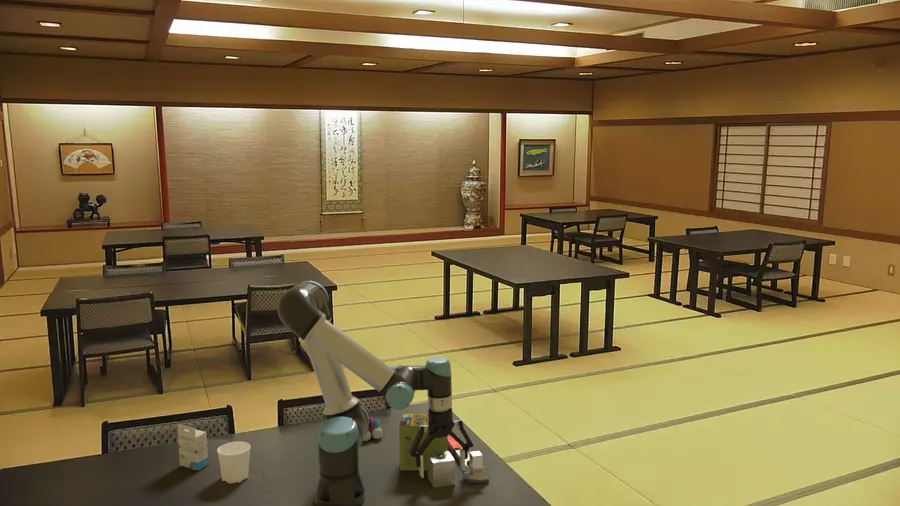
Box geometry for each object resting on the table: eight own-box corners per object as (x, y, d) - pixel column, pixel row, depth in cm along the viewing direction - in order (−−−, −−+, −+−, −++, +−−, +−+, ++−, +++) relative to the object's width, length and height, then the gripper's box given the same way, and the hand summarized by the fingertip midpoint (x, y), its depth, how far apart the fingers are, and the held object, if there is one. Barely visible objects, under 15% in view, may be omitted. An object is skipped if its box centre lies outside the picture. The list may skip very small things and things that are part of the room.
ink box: (209, 465, 228) (206, 423, 225) (197, 471, 223) (195, 428, 221) (191, 460, 231) (188, 418, 229) (179, 466, 227) (176, 423, 225)
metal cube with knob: (433, 487, 212) (433, 461, 210) (427, 477, 218) (427, 452, 217) (455, 484, 214) (454, 458, 212) (448, 474, 220) (448, 449, 219)
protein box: (446, 471, 222) (446, 426, 220) (399, 470, 223) (398, 425, 221) (448, 457, 233) (447, 413, 230) (403, 456, 233) (402, 413, 231)
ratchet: (467, 485, 213) (467, 460, 211) (440, 445, 242) (440, 422, 241) (492, 482, 215) (492, 457, 214) (462, 442, 244) (462, 420, 243)
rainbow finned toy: (352, 435, 251) (352, 416, 250) (378, 430, 255) (377, 412, 254) (359, 444, 244) (359, 424, 242) (385, 439, 248) (385, 420, 247)
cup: (218, 486, 213) (216, 456, 211) (219, 472, 222) (218, 443, 221) (251, 482, 216) (250, 452, 214) (252, 468, 225) (250, 440, 224)
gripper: (403, 417, 206) (406, 484, 209) (482, 406, 213) (483, 470, 216) (398, 409, 213) (401, 473, 216) (474, 398, 220) (476, 461, 223)
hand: (442, 472), depth 216 cm, fingers open, 13 cm apart
